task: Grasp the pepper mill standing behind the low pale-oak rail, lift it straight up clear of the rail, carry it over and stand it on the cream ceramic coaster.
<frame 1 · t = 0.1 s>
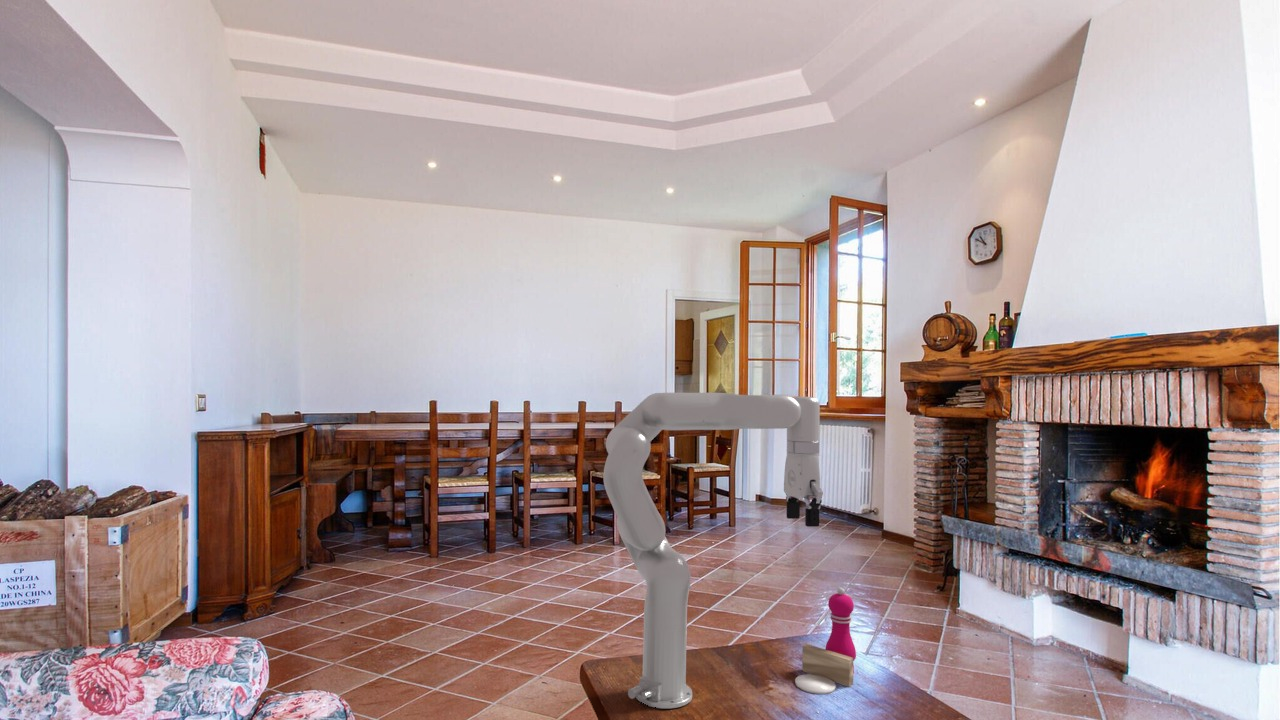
hand: (802, 522, 153), 37 cm above the table, tool pointing down, fingers open, 9 cm apart
coaster: (815, 685, 151), on the table
oak rail: (827, 677, 155), on the table
pepper mill: (840, 671, 159), on the table
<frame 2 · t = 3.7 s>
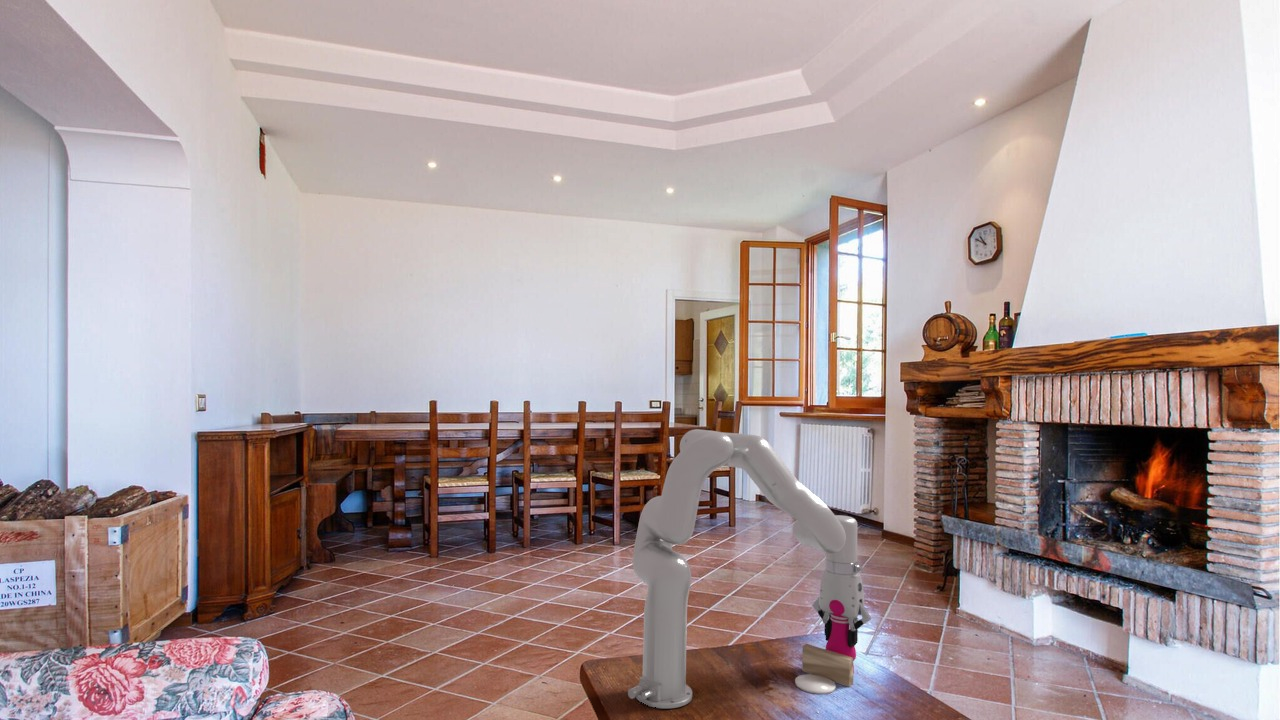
hand: (840, 641, 159), 7 cm above the table, tool pointing down, fingers closed on pepper mill, 5 cm apart
pepper mill: (840, 671, 159), on the table, touching gripper
when the fingers open (9 cm above the table, at t = 9.7 s): pepper mill drops 2 cm, resting on coaster.
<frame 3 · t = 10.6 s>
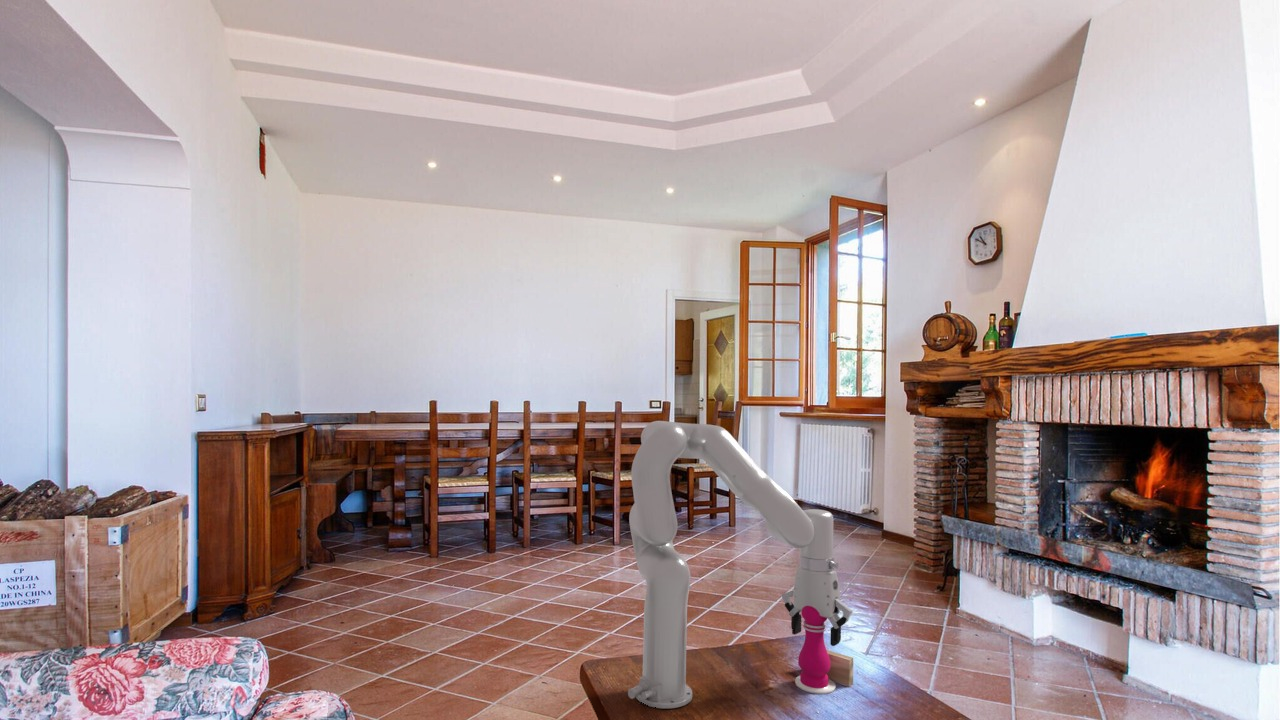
hand: (815, 638, 151), 11 cm above the table, tool pointing down, fingers open, 9 cm apart
pepper mill: (814, 683, 151), resting on coaster
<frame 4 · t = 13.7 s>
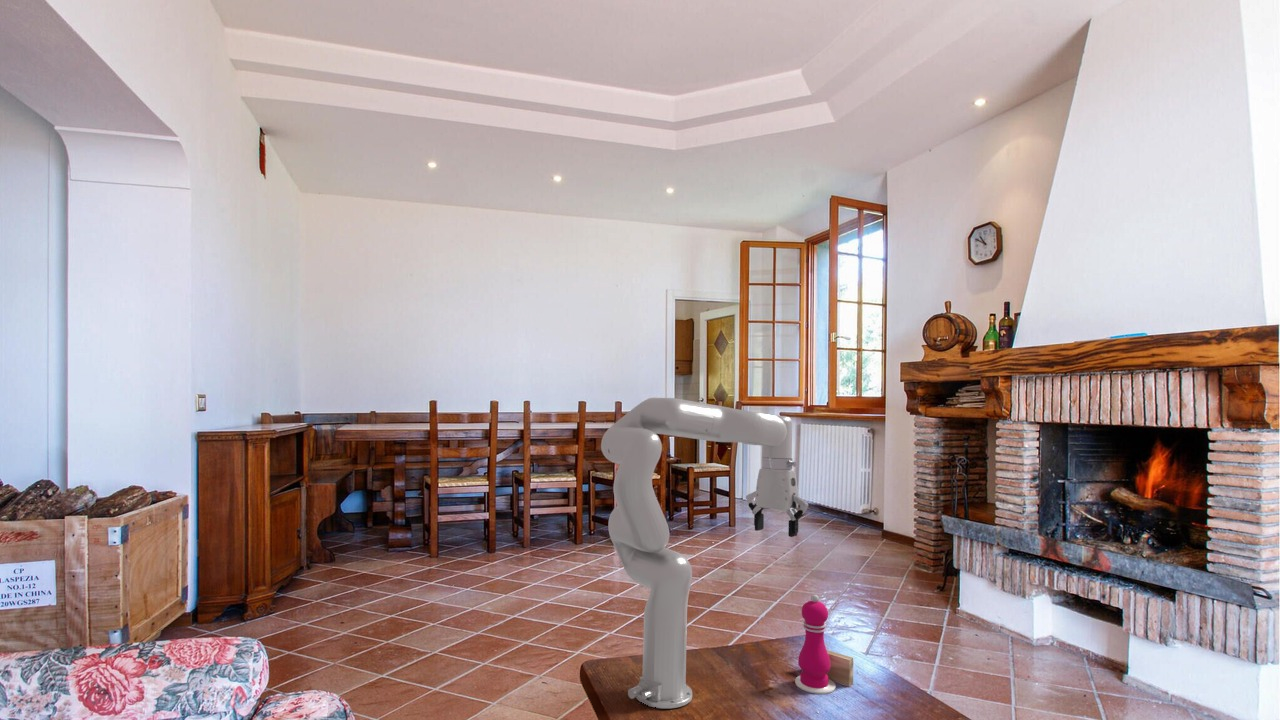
hand: (775, 532, 164), 32 cm above the table, tool pointing down, fingers open, 9 cm apart
nothing on the table moved.
at the end: pepper mill inside the target area on the coaster (0.3 cm from its centre), point 0.4 cm above the coaster's base; pepper mill tilted 0°; the gripper is holding nothing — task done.
